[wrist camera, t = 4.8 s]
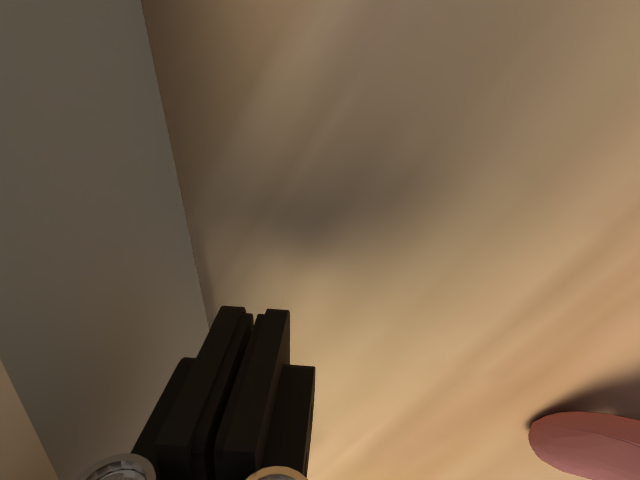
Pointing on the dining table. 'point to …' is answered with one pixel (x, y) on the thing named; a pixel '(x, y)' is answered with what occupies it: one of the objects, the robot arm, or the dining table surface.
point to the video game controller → (589, 444)
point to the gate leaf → (86, 238)
